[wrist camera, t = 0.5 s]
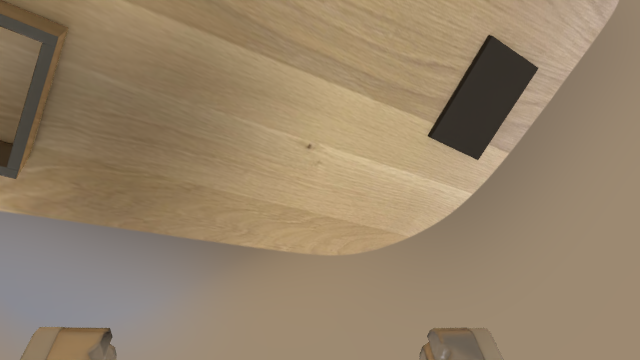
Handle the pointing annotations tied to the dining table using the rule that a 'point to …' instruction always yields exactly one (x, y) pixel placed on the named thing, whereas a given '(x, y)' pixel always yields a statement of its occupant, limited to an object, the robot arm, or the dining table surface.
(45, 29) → the open rectangular frame
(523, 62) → the mat
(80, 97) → the dining table surface
